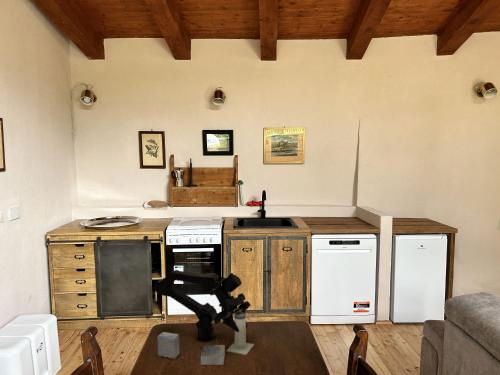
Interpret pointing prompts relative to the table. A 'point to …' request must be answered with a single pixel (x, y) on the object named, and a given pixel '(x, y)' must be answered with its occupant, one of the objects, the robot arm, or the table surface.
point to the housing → (213, 355)
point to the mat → (240, 348)
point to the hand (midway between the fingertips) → (242, 329)
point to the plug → (240, 329)
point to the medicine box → (168, 345)
